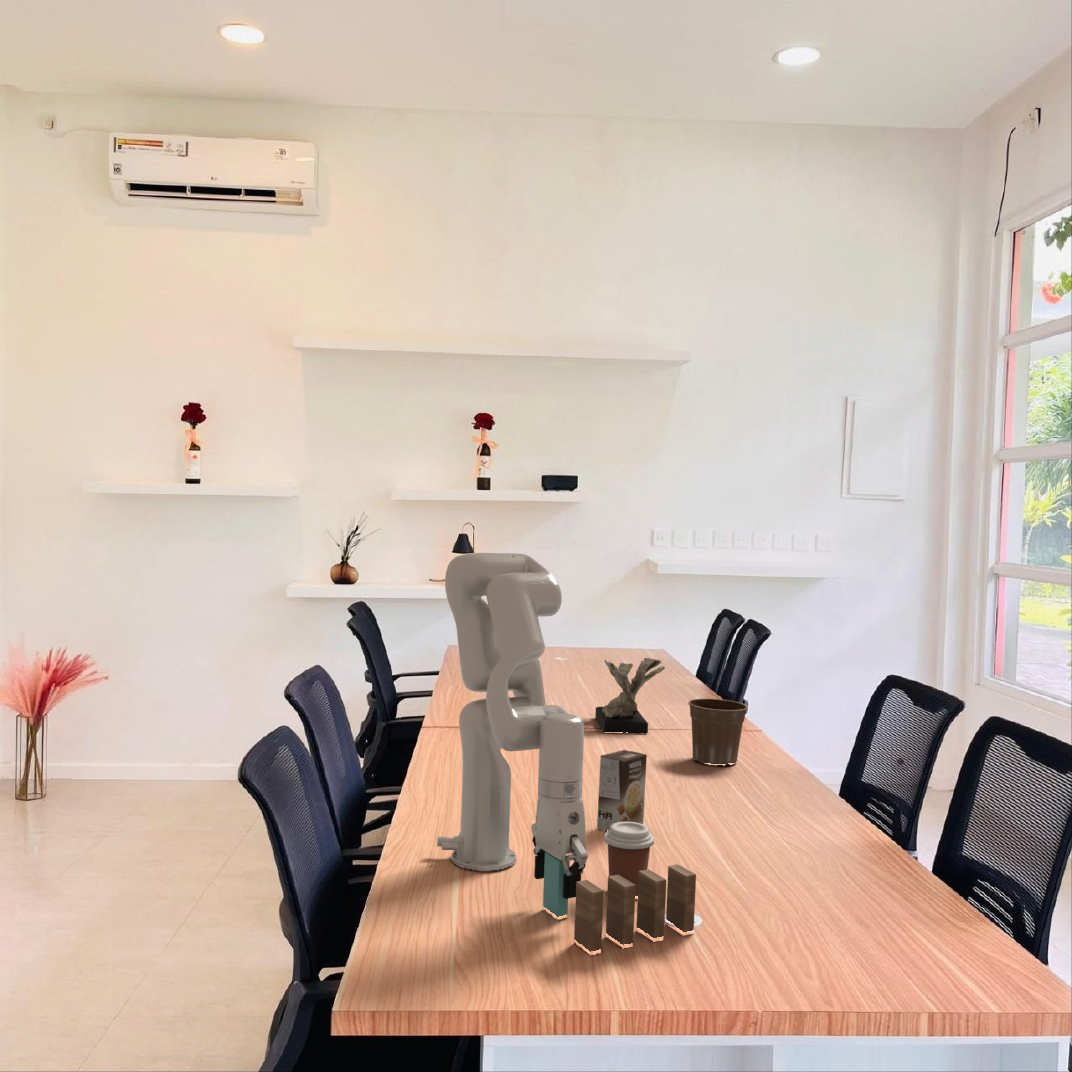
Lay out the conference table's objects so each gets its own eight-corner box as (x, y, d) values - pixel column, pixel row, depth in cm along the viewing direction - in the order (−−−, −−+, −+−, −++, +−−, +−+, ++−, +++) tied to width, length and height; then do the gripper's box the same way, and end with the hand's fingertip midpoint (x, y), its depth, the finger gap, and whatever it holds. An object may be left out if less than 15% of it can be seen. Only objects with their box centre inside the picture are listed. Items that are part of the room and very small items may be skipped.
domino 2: (622, 949, 162) (625, 887, 162) (605, 936, 166) (608, 876, 166) (633, 947, 163) (635, 885, 163) (615, 934, 167) (618, 874, 167)
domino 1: (590, 956, 159) (592, 892, 159) (573, 943, 163) (576, 881, 163) (601, 953, 160) (603, 890, 160) (584, 941, 164) (587, 879, 164)
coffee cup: (620, 879, 192) (623, 816, 192) (661, 892, 186) (664, 827, 186) (591, 892, 185) (594, 827, 184) (633, 906, 179) (636, 839, 179)
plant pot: (742, 756, 291) (744, 699, 290) (748, 770, 275) (751, 711, 274) (684, 752, 293) (686, 696, 292) (687, 767, 276) (689, 707, 276)
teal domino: (557, 920, 172) (559, 861, 172) (542, 909, 177) (544, 852, 176) (567, 918, 173) (569, 860, 173) (552, 907, 177) (555, 850, 177)
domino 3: (653, 942, 165) (656, 881, 164) (636, 930, 169) (638, 871, 169) (663, 940, 166) (666, 879, 165) (646, 928, 170) (648, 869, 170)
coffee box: (620, 836, 217) (623, 761, 216) (596, 829, 221) (599, 755, 220) (644, 826, 224) (647, 754, 223) (620, 820, 228) (623, 748, 227)
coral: (594, 716, 338) (596, 651, 338) (655, 717, 339) (658, 653, 338) (601, 733, 313) (604, 663, 313) (667, 735, 314) (670, 665, 313)
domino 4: (683, 936, 168) (686, 876, 167) (665, 924, 172) (668, 866, 172) (693, 934, 169) (696, 874, 168) (675, 922, 173) (677, 864, 173)
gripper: (606, 798, 168) (602, 901, 169) (554, 773, 183) (551, 867, 184) (566, 803, 165) (563, 908, 165) (517, 777, 180) (514, 873, 180)
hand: (556, 887), depth 174 cm, fingers open, 9 cm apart
